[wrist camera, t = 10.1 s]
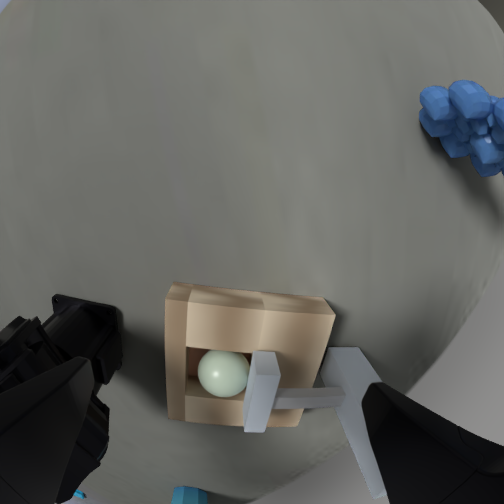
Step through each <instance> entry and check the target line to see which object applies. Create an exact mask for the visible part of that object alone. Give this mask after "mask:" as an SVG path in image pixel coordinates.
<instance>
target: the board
mask: <svg viewBox="0 0 504 504" xmlns="http://www.w3.org/2000/svg"><path fill="white" fill-rule="evenodd" d="M335 316H336V315H335V313H334V312H333V311H332V309H331V308H330V306H329V305H328V304H327V302H326V301H325V300H324V298H323V297H310V296H298V295H286V294H276V293H265V292H255V291H245V290H236V289H227V288H218V287H210V286H201V285H193V284H185V283H178V282H173V284H172V286H171V288H170V290H169V292H168V294H167V296H166V298H165V368H166V391H167V407H168V419H173V420H180V421H187V422H195V423H204V424H214V425H227V426H244V423H243V410H242V408H243V403H244V397H245V392H246V387H247V386H246V387H245V388H244V389H243V390H242V391H241V392H240V393H238V394H237V395H234V396H231V397H218V396H215V395H213V394H211V393H209V392H208V391H207V390H206V389H205V388H204V387H203V386H202V384H201V383H200V380H199V377H198V366H199V363H200V360H201V359H202V357H203V356H204V355H205V354H206V353H207V352H208V351H210V350H222V351H232V352H240V353H241V354H243V355H244V357H245V358H246V359H247V361H248V363H249V366H251V360H252V355H253V351H266V352H275V355H276V359H277V363H278V366H279V370H280V374H281V377H280V380H279V384H278V388H312V387H313V384H314V381H315V378H316V375H317V373H318V370H319V367H320V364H321V361H322V358H323V355H324V352H325V349H326V346H327V342H328V339H329V336H330V333H331V329H332V326H333V323H334V319H335ZM303 410H304V409H271V412H270V415H269V419H268V422H267V425H266V427H293V426H297V425H298V423H299V420H300V418H301V415H302V413H303Z"/></svg>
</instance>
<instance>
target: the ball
mask: <svg viewBox="0 0 504 504" xmlns="http://www.w3.org/2000/svg"><path fill="white" fill-rule="evenodd" d="M249 371H250V366H249V363H248V361H247V359H246V358H245V357H244V355H243V354H241V353H240V352H232V351H222V350H210V351H208V352H207V353H206V354H205V355H204V356H203V357H202V359H201V360H200V363H199V366H198V377H199V380H200V383H201V384H202V386H203V387H204V388H205V389H206V390H207V391H208V392H209V393H211V394H213V395H215V396H218V397H231V396H234V395H237V394H238V393H240V392H241V391H242V390H243V389H244V388H245V387H246V386H247V382H248V376H249Z"/></svg>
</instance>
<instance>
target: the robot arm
mask: <svg viewBox="0 0 504 504" xmlns="http://www.w3.org/2000/svg"><path fill="white" fill-rule="evenodd" d="M56 299H57V300H58V301H57V300H56ZM52 305H53V311H54V314H53V315H52V316H51V317H50V318H48V319H47V320H46V321H45V322H44V323H43V324H42V325H41V324H40V323H41V321H40V320H39V318H38V317H37V316H36V317H35V318H33V319H32V320H30V319H28V320H27V319H24V318H22V317H21V316H18V317H17V318H15V319H14V320H13V321H12V322H11V323H9V324H8V325H7V326H6V327H5V328H4V329H3V330H1V331H0V504H55V503H56V504H61V503H63V502H66V501H68V500H70V499H71V498H72V496H73V495H74V493H75V492H76V490H77V488H78V487H79V485H80V484H81V482H82V481H83V480H84V479H85V478H86V477H87V476H88V475H89V474H90V473H91V472H92V471H93V470H95V469H96V468H98V467H99V466H100V464H101V463H100V461H101V459H102V458H103V457H104V455H105V453H106V450H107V448H108V442H109V436H108V432H109V412H110V409H109V407H108V406H107V405H106V404H103V403H102V402H101V401H100V400H99V399H98V397H97V396H96V395H97V394H98V392H99V390H100V388H101V386H102V384H104V385H107V384H108V383H109V382H110V380H111V378H112V376H113V374H114V372H115V370H119V369H120V368H121V366H122V362H121V358H122V356H123V353H122V344H121V334H120V332H119V331H118V327H117V315H116V309H115V308H114V307H113V306H111V305H106V304H101V303H96V302H91V301H86V300H81V299H77V298H72V297H68V296H64V295H59V294H55V295H54V296H53V297H52ZM108 310H110V311H111V312H112V314H111V313H109V312H108ZM361 407H362V411H363V415H364V419H365V424H366V428H367V433H368V437H369V441H370V444H371V447H372V450H373V453H374V456H375V459H376V462H377V465H378V468H379V471H380V474H381V477H382V480H383V483H384V487H385V490H386V493H387V496H388V499H389V503H390V504H504V446H502V445H499V444H496V443H494V442H492V441H489V440H487V439H484V438H482V437H480V436H477V435H475V434H473V433H471V432H469V431H467V430H465V429H463V428H462V427H460V426H457V425H456V424H454V423H452V422H450V421H449V420H446V419H445V418H443V417H441V416H440V415H438V414H436V413H434V412H432V411H431V410H429V409H427V408H425V407H424V406H422V405H420V404H418V403H417V402H415V401H413V400H412V399H410V398H408V397H407V396H405V395H403V394H402V393H400V392H398V391H396V390H395V389H393V388H391V387H390V386H388V385H386V384H385V383H383V382H373V383H371V384H370V385H369V386H368V388H367V390H366V392H365V394H364V396H363V398H362V401H361Z"/></svg>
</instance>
